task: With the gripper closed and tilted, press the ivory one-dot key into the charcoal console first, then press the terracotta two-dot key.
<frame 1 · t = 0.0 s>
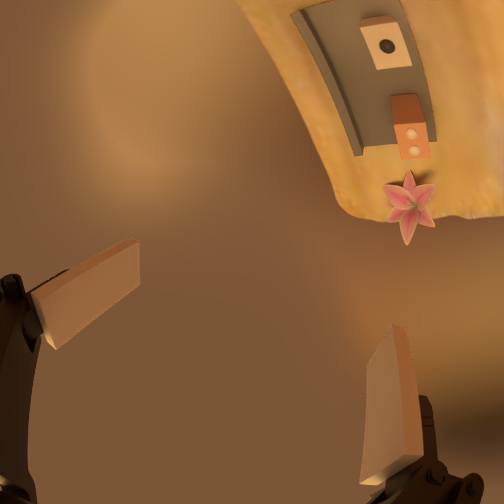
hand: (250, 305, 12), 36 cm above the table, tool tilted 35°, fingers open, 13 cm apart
console: (376, 71, 28), on the table
key one: (384, 39, 20), point 6 cm above the table, slide at 0.0 cm
lily: (410, 187, 43), on the table
key two: (410, 124, 27), point 6 cm above the table, slide at 0.0 cm
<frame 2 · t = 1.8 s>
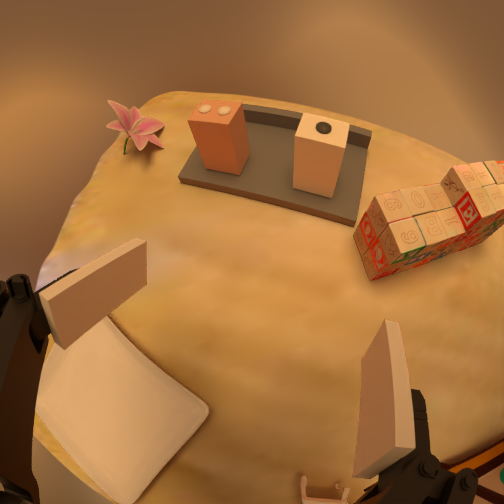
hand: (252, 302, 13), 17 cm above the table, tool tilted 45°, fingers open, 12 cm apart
console: (277, 161, 36), on the table
decorative lantern: (466, 489, 15), on the table
origami figure: (330, 503, 19), on the table
stack of blocks: (426, 239, 30), on the table
key one: (319, 156, 28), point 6 cm above the table, slide at 0.0 cm
lily: (146, 145, 41), on the table
salad plate: (110, 406, 26), on the table
key two: (221, 137, 31), point 6 cm above the table, slide at 0.0 cm
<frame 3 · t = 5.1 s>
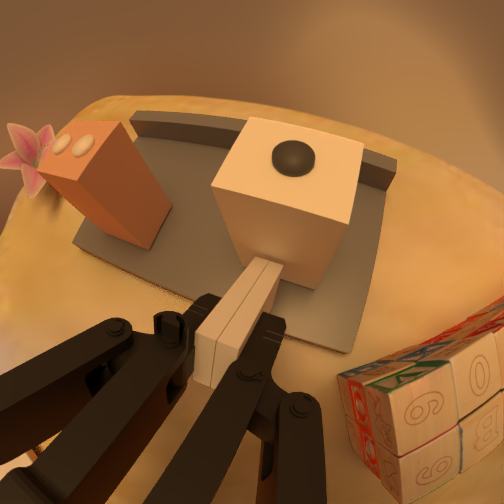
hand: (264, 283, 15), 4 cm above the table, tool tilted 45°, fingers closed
console: (221, 215, 21), on the table
stack of blocks: (460, 360, 15), on the table
key one: (290, 216, 14), point 6 cm above the table, slide at 1.2 cm, touching gripper
lily: (60, 178, 26), on the table
salad plate: (42, 500, 12), on the table
key two: (107, 187, 16), point 6 cm above the table, slide at 0.0 cm
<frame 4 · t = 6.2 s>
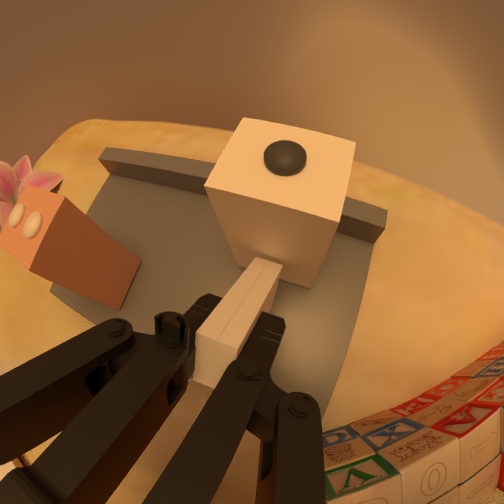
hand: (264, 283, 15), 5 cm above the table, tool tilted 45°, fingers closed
console: (193, 271, 20), on the table
stack of blocks: (439, 417, 14), on the table
key one: (284, 215, 14), point 6 cm above the table, slide at 6.1 cm, touching gripper
lily: (40, 213, 25), on the table
key two: (70, 251, 14), point 6 cm above the table, slide at 0.0 cm
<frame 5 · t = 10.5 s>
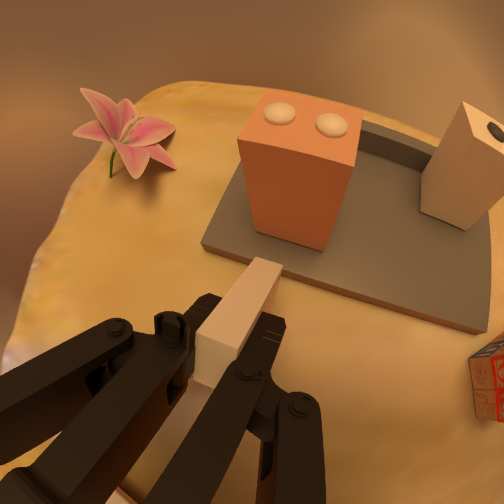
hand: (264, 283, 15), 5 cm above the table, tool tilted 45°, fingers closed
console: (374, 218, 20), on the table
key one: (469, 170, 14), point 6 cm above the table, slide at 6.0 cm
lily: (145, 162, 26), on the table
key two: (301, 177, 15), point 6 cm above the table, slide at 0.0 cm
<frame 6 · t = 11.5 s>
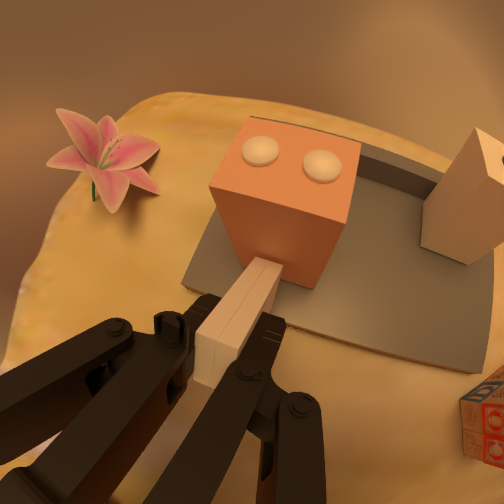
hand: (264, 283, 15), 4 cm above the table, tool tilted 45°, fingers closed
console: (370, 253, 19), on the table
key one: (477, 204, 13), point 6 cm above the table, slide at 6.0 cm
lily: (128, 185, 24), on the table
key two: (288, 216, 14), point 6 cm above the table, slide at 0.5 cm, touching gripper
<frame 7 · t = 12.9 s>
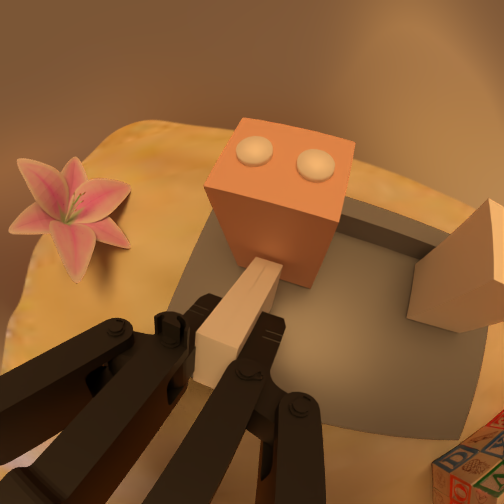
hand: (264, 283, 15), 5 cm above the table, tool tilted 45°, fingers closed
console: (350, 323, 17), on the table
key one: (476, 280, 11), point 6 cm above the table, slide at 6.0 cm
lily: (100, 233, 23), on the table
key two: (284, 215, 14), point 6 cm above the table, slide at 6.0 cm, touching gripper
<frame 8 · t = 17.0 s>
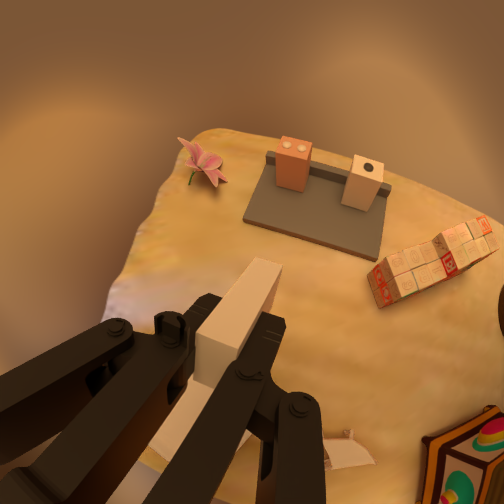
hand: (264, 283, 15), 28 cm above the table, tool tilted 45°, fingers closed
console: (319, 207, 48), on the table
decorative lantern: (453, 457, 27), on the table
origami figure: (343, 447, 32), on the table
stack of blocks: (420, 274, 41), on the table
key one: (361, 184, 41), point 6 cm above the table, slide at 6.0 cm
lily: (208, 177, 53), on the table
salad plate: (191, 402, 38), on the table
key two: (293, 164, 44), point 6 cm above the table, slide at 6.0 cm
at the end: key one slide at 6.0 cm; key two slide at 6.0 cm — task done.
